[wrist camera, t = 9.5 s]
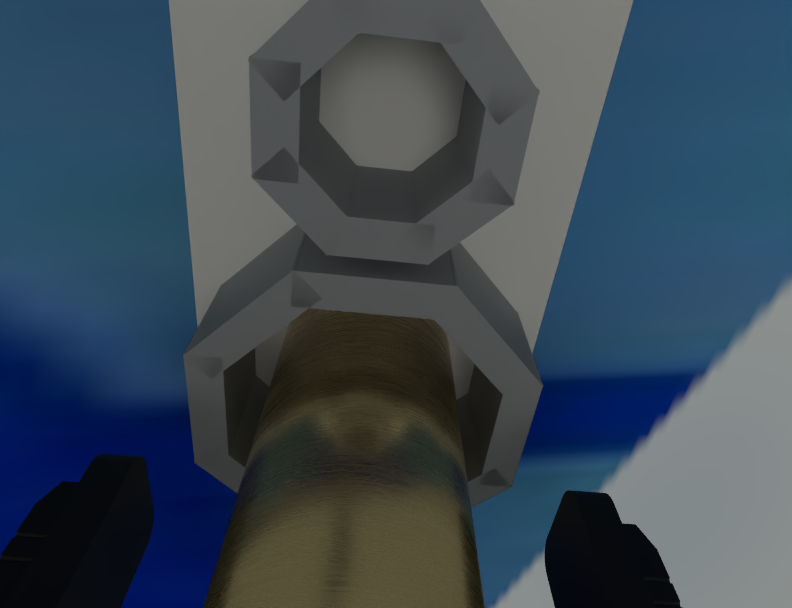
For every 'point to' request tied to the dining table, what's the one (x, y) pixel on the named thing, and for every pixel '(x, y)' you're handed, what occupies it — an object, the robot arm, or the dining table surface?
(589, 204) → the dining table surface
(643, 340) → the dining table surface
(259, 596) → the brass cylinder
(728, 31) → the dining table surface
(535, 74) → the grey mounting plate
